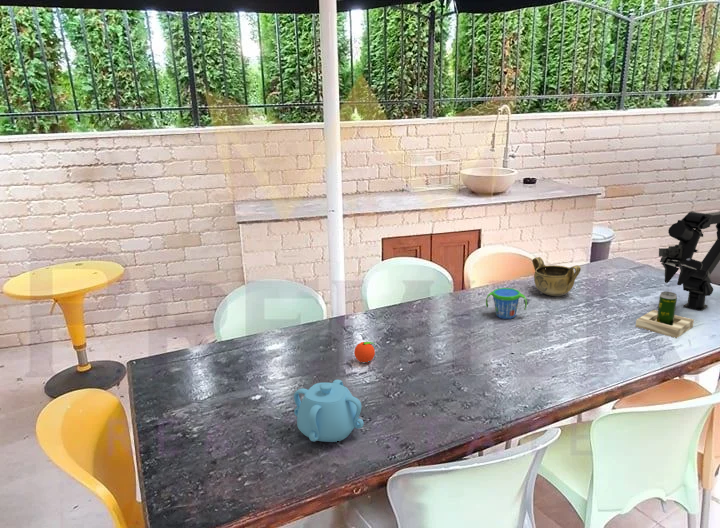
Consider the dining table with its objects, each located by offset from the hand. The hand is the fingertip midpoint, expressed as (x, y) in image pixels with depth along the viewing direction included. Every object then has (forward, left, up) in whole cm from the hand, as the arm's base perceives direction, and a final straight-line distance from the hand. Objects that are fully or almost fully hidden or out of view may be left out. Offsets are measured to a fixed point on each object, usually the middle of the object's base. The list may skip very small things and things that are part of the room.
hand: (672, 283), depth 195 cm
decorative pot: (+140, -27, -13) cm, 143 cm away
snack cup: (+43, -43, -13) cm, 62 cm away
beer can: (+11, +3, -12) cm, 17 cm away
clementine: (+108, -51, -13) cm, 120 cm away
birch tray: (+11, +3, -14) cm, 18 cm away
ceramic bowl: (+8, -44, -13) cm, 46 cm away
